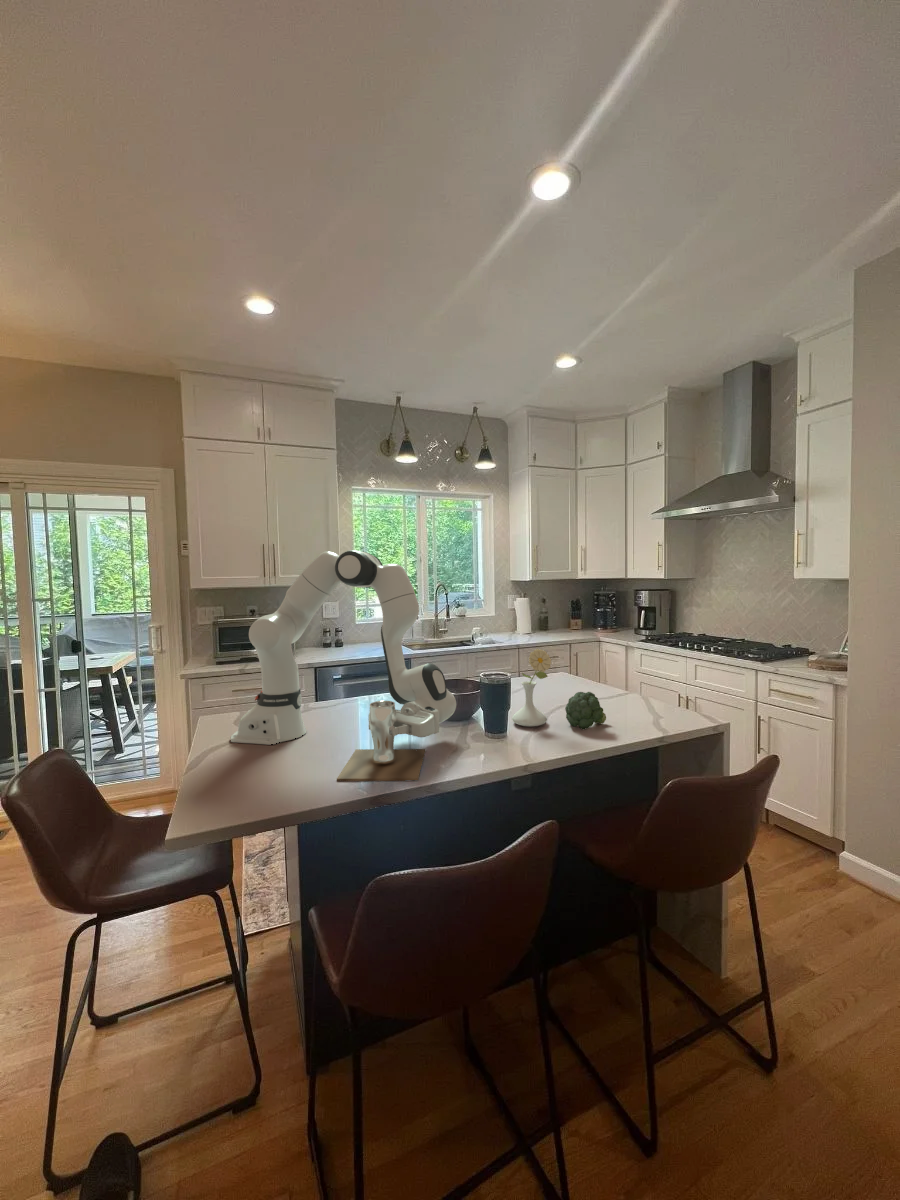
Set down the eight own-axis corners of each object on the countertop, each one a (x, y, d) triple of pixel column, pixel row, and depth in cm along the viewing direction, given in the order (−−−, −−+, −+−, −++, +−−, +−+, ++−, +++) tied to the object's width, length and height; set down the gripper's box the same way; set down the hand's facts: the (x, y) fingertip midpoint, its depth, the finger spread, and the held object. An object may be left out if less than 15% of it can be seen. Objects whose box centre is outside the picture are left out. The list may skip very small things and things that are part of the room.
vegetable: (623, 723, 155) (593, 709, 148) (594, 745, 161) (563, 733, 153) (608, 693, 165) (578, 678, 157) (580, 715, 170) (550, 702, 163)
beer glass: (368, 764, 128) (366, 707, 127) (373, 754, 135) (371, 700, 134) (395, 764, 127) (393, 707, 127) (399, 754, 134) (397, 700, 134)
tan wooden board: (336, 781, 122) (336, 778, 122) (355, 751, 142) (355, 749, 141) (417, 780, 121) (417, 778, 121) (425, 751, 141) (425, 749, 141)
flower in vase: (513, 729, 158) (512, 652, 156) (510, 719, 169) (509, 646, 168) (554, 729, 157) (554, 651, 156) (549, 718, 169) (548, 645, 167)
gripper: (388, 700, 147) (353, 711, 136) (443, 711, 135) (409, 724, 124) (388, 721, 147) (354, 734, 136) (443, 733, 135) (410, 749, 124)
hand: (380, 729), depth 130 cm, fingers closed on beer glass, 6 cm apart
